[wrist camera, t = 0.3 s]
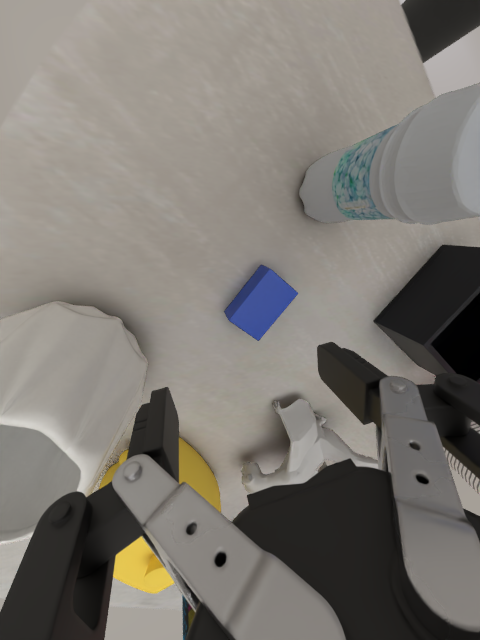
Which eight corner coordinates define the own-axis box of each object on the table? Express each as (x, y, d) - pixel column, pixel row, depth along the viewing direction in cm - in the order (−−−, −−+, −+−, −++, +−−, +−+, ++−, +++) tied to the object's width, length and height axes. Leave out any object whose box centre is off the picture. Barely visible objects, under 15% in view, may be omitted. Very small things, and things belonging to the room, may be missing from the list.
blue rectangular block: (251, 331, 31) (258, 341, 28) (223, 311, 29) (228, 320, 26) (287, 287, 30) (298, 293, 27) (261, 264, 28) (270, 268, 25)
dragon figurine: (276, 383, 35) (297, 439, 27) (357, 411, 39) (398, 467, 31) (232, 451, 40) (238, 517, 32) (308, 470, 44) (332, 532, 36)
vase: (167, 317, 28) (156, 408, 14) (130, 416, 31) (93, 568, 17) (18, 271, 23) (-225, 339, 9) (-6, 394, 26) (-209, 579, 12)
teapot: (235, 489, 40) (256, 583, 30) (170, 528, 40) (168, 638, 29) (165, 412, 32) (159, 506, 21) (83, 462, 32) (35, 581, 21)
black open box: (373, 321, 35) (423, 345, 28) (442, 244, 33) (515, 249, 26) (416, 364, 40) (468, 394, 33) (478, 300, 38) (546, 317, 31)
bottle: (318, 237, 29) (564, 258, 10) (280, 194, 26) (521, 118, 8) (358, 190, 28) (703, 123, 10) (323, 140, 25) (710, -86, 7)
